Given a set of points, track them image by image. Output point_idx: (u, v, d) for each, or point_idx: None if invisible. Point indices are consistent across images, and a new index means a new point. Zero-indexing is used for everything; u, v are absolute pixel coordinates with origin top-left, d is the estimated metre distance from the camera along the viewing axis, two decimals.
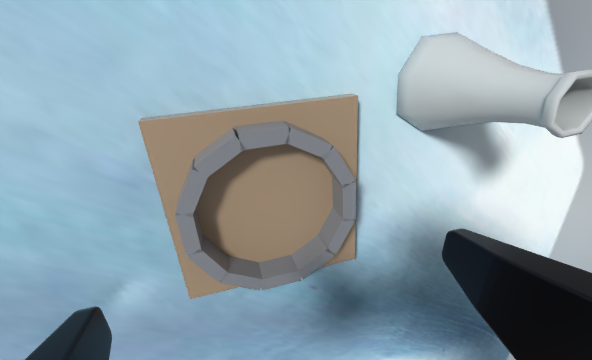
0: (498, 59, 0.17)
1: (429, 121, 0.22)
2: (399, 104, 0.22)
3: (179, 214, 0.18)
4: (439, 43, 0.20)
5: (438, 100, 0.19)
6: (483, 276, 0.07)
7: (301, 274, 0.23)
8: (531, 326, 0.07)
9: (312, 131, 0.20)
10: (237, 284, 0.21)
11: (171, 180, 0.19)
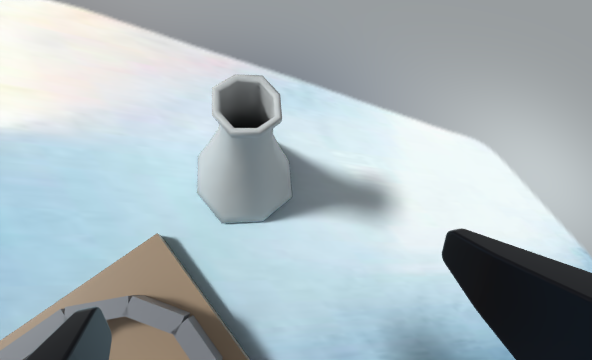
0: None
1: (246, 208, 0.20)
2: (217, 214, 0.21)
3: None
4: (202, 150, 0.21)
5: (220, 187, 0.18)
6: (483, 276, 0.07)
7: None
8: (532, 326, 0.07)
9: (124, 295, 0.18)
10: None
11: None
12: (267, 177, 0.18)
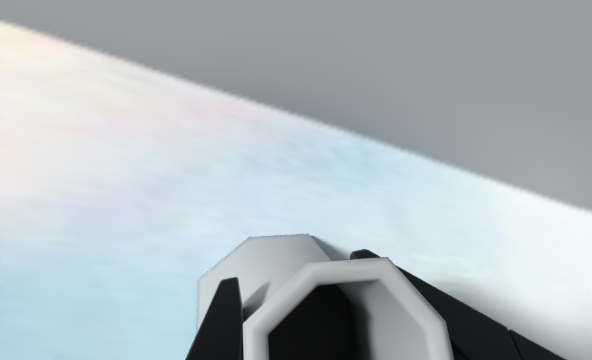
0: (257, 275, 0.09)
1: None
2: None
3: None
4: (205, 284, 0.12)
5: None
6: None
7: None
8: None
9: None
10: None
11: None
12: None
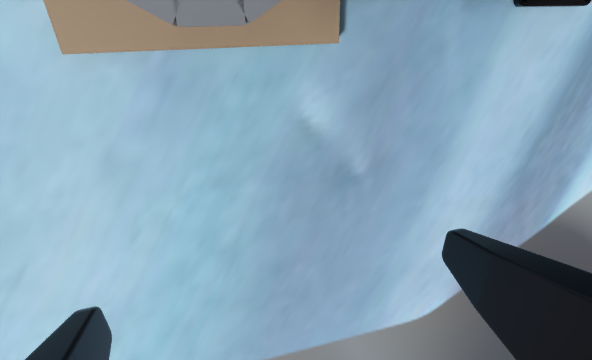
0: None
1: None
2: None
3: (175, 19, 0.13)
4: None
5: None
6: (483, 276, 0.07)
7: None
8: (532, 326, 0.07)
9: None
10: None
11: (147, 29, 0.14)
12: None
